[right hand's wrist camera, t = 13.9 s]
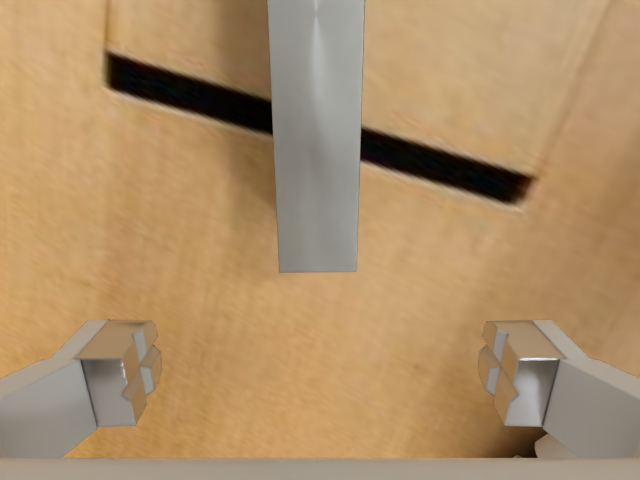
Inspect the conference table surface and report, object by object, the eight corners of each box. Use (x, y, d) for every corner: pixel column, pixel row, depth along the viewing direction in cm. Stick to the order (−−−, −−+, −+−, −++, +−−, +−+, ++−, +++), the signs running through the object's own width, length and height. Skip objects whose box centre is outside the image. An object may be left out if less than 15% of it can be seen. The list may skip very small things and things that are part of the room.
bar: (346, 221, 33) (356, 272, 24) (288, 221, 33) (279, 272, 24) (355, -241, 23) (378, -426, 14) (272, -241, 23) (247, -426, 14)
